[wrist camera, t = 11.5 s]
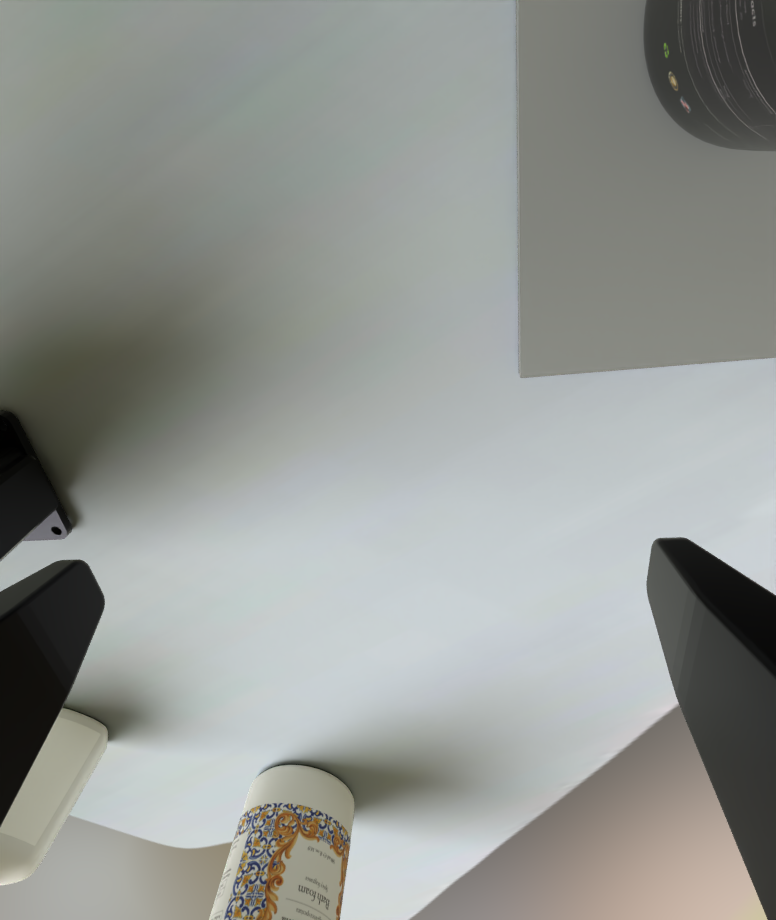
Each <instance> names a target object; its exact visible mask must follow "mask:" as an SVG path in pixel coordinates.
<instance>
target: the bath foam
mask: <svg viewBox="0 0 776 920" xmlns="http://www.w3.org/2000/svg"><path fill="white" fill-rule="evenodd" d="M354 809H355V804H354V799H353V796H352V794H351V792H350V790H349V789H348V787H347V786H346V785H345V784H344V783H343V782H342V781H340V780H339V779H338V778H336V777H335V776H333V775H331V774H329V773H327V772H325V771H322V770H320V769H316V768H313V767H308V766H302V765H283V766H277V767H273V768H271V769H268V770H267V771H265V772H263V773H262V774H260V775H259V776H258V777H256V778H255V780H254V781H253V783H252V785H251V787H250V790H249V793H248V796H247V799H246V802H245V806H244V809H243V812H242V815H241V818H240V821H239V824H238V827H237V831H236V834H235V837H234V840H233V844H232V847H231V850H230V854H229V857H228V860H227V863H226V867H225V870H224V873H223V876H222V880H221V883H220V886H219V889H218V893H217V896H216V899H215V902H214V906H213V909H212V912H211V915H210V919H209V920H340V913H341V906H342V899H343V892H344V885H345V877H346V870H347V863H348V856H349V849H350V839H351V832H352V825H353V818H354Z"/></svg>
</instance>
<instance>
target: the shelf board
mask: <svg viewBox="0 0 776 920" xmlns="http://www.w3.org/2000/svg"><path fill="white" fill-rule="evenodd" d="M645 5H646V0H516V67H517V200H518V333H519V374H520V378H528V377H540V376H553V375H565V374H577V373H590V372H602V371H615V370H627V369H640V368H652V367H664V366H677V365H689V364H702V363H714V362H726V361H739V360H751V359H764V358H776V151H749V150H736V149H728V148H724V147H719V146H715V145H712V144H709V143H706V142H704V141H702V140H700V139H698V138H696V137H694V136H692V135H691V134H689V133H688V132H686V131H685V130H684V129H682V128H681V127H680V126H679V125H678V124H677V123H676V122H675V121H674V120H673V119H672V118H671V117H670V116H669V115H668V113H667V112H666V110H665V109H664V108H663V106H662V105H661V103H660V101H659V99H658V97H657V95H656V93H655V91H654V88H653V86H652V83H651V80H650V77H649V74H648V70H647V65H646V60H645V52H644V41H643V35H644V14H645Z"/></svg>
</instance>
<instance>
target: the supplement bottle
mask: <svg viewBox="0 0 776 920" xmlns="http://www.w3.org/2000/svg"><path fill="white" fill-rule="evenodd" d="M643 41H644V52H645V60H646V65H647V70H648V74H649V77H650V80H651V83H652V86H653V88H654V91H655V93H656V95H657V97H658V99H659V101H660V103H661V105H662V106H663V108H664V109H665V110H666V112H667V113H668V115H669V116H670V117H671V118H672V119H673V120H674V121H675V122H676V123H677V124H678V125H679V126H680V127H681V128H682V129H684V130H685V131H686V132H688V133H689V134H691V135H692V136H694V137H696V138H698V139H700V140H702V141H704V142H706V143H709V144H712V145H715V146H719V147H724V148H728V149H736V150H749V151H776V0H646V5H645V14H644V35H643Z"/></svg>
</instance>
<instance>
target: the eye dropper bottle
mask: <svg viewBox="0 0 776 920" xmlns="http://www.w3.org/2000/svg"><path fill="white" fill-rule="evenodd" d="M107 741H108V731H107V728H106V727H105V726H104V725H103V724H102V723H100V722H98V721H96V720H94V719H92V718H90V717H88V716H86V715H83V714H81V713H78V712H75V711H72V710H69V709H65V708H62V710H61V711H60V713H59V715H58V717H57V719H56V721H55V723H54V725H53V727H52V729H51V731H50V733H49V735H48V737H47V738H46V740H45V742H44V744H43V746H42V748H41V750H40V752H39V754H38V756H37V758H36V760H35V762H34V763H33V765H32V767H31V769H30V771H29V773H28V775H27V777H26V779H25V781H24V783H23V785H22V787H21V788H20V790H19V792H18V794H17V796H16V798H15V800H14V802H13V804H12V806H11V808H10V810H9V812H8V813H7V815H6V817H5V819H4V821H3V823H2V825H1V827H0V885H6V884H11V883H15V882H18V881H21V880H24V879H26V878H27V877H29V876H30V875H31V874H33V873H34V872H35V870H36V869H37V868H38V866H39V865H40V863H41V862H42V860H43V858H44V857H45V855H46V853H47V852H48V850H49V848H50V846H51V845H52V843H53V841H54V840H55V838H56V836H57V834H58V833H59V831H60V829H61V827H62V826H63V824H64V822H65V820H66V819H67V817H68V815H69V813H70V812H71V810H72V808H73V806H74V805H75V803H76V801H77V799H78V798H79V796H80V794H81V792H82V791H83V789H84V787H85V785H86V783H87V782H88V780H89V778H90V776H91V775H92V773H93V771H94V769H95V768H96V766H97V764H98V762H99V760H100V759H101V757H102V755H103V753H104V752H105V750H106V748H107Z"/></svg>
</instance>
